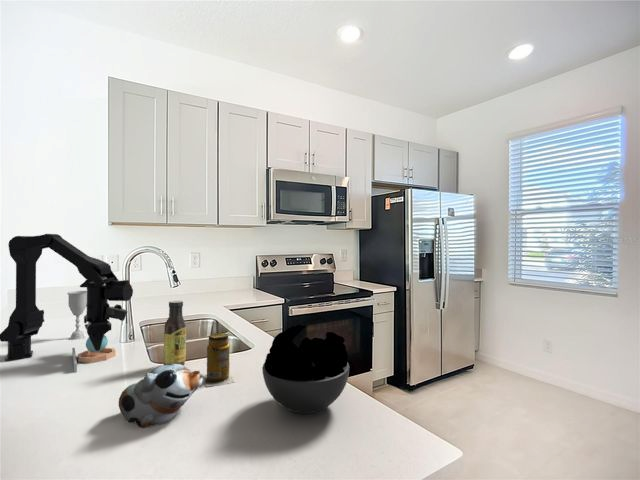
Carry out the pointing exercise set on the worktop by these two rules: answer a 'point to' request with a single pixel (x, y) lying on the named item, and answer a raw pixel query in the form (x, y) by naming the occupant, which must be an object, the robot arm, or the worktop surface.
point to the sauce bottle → (175, 335)
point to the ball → (91, 347)
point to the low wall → (74, 359)
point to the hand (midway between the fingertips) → (96, 348)
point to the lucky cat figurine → (159, 395)
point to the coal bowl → (306, 370)
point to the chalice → (77, 309)
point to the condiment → (218, 360)
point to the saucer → (96, 355)
